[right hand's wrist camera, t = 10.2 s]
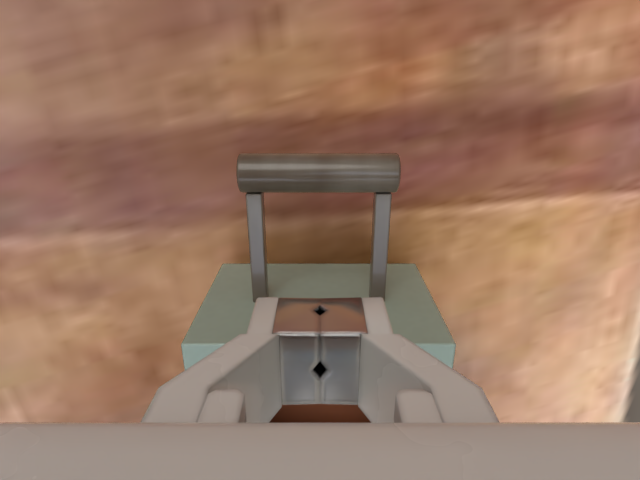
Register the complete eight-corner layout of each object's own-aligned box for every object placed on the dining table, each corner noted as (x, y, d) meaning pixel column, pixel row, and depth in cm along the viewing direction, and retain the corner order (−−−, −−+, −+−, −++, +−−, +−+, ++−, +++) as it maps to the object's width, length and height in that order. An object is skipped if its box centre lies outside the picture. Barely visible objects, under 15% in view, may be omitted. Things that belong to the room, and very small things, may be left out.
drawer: (210, 139, 19) (154, 171, 12) (426, 139, 19) (481, 172, 12) (244, 500, 27) (221, 629, 21) (393, 500, 27) (416, 629, 21)
